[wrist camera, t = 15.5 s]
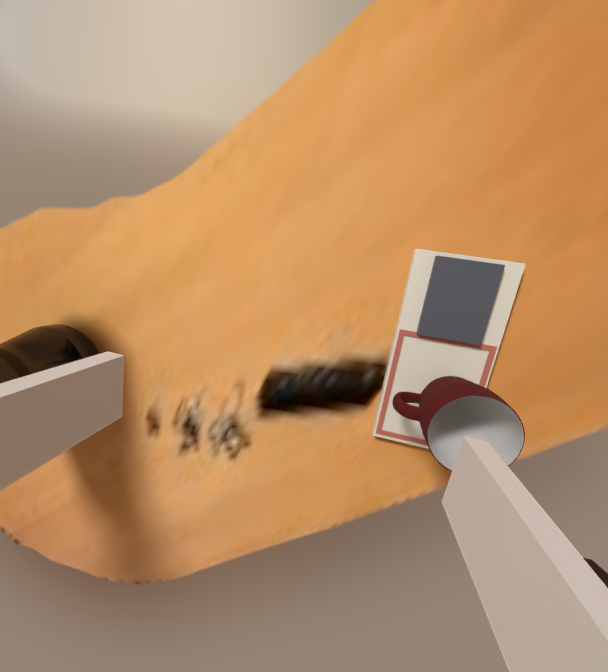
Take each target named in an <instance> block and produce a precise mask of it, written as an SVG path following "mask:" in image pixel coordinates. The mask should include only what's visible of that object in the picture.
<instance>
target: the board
mask: <svg viewBox="0 0 608 672" xmlns="http://www.w3.org/2000/svg"><path fill="white" fill-rule="evenodd" d="M524 268H525V264H524V263H517V262H509V261H502V260H495V259H487V258H480V257H473V256H466V255H458V254H451V253H444V252H437V251H429V250H422V249H414V251H413V256H412V260H411V264H410V269H409V273H408V278H407V282H406V286H405V291H404V295H403V299H402V304H401V308H400V312H399V317H398V321H397V325H396V330H395V334H394V339H393V343H392V347H391V352H390V356H389V360H388V365H387V369H386V373H385V378H384V382H383V386H382V391H381V395H380V399H379V404H378V408H377V413H376V417H375V421H374V426H373V430H372V434H373V436H377V437H381V438H385V439H389V440H394V441H398V442H402V443H406V444H410V445H414V446H419V447H423V448H427V449H429V447H428V445H427V443H426V441H425V438H424V436H423V433H422V429H421V426H420V423H419V422H418V421H414V420H411V419H408V418H405V417H403V416H402V415H400V414H399V413H397V412H396V410H395V409H394V408H393V404H392V401H393V397H394V396H395V394H397V393H398V392H413V393H419V394H421V392H422V391H423V390H424V388H425V387H426V386H427V385H428V384H429V383H430V382H432V381H433V380H435V379H437V378H440V377H444V376H457V377H461V378H464V379H467V380H469V381H471V382H473V383H476V384H478V385H480V386H483V387H485V388H487V384H488V381H489V378H490V375H491V372H492V369H493V365H494V362H495V359H496V356H497V353H498V350H499V347H500V343H501V340H502V337H503V334H504V331H505V328H506V324H507V321H508V318H509V315H510V312H511V309H512V305H513V302H514V299H515V296H516V293H517V290H518V287H519V283H520V280H521V277H522V274H523V271H524ZM407 404H410V405H412V406H416V407H419V404H418V403H407Z"/></svg>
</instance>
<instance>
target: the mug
mask: <svg viewBox="0 0 608 672" xmlns="http://www.w3.org/2000/svg"><path fill="white" fill-rule="evenodd" d="M407 403H418V404H419V407H416V406H412V405H410V404H407ZM392 404H393V408H394V409H395V410H396V412H397V413H399V414H400V415H402V416H403V417H405V418H408V419H411V420H414V421H418V422H419V423H420V426H421V429H422V433H423V436H424V438H425V441H426V443H427V445H428V447H429V450H430V452H431V453H432V455H433V456H434V458H435V459H436V460H437V461H438V462H439V463H440V464H441V465H442V466H444V467H445V468H447V469H448V470H450V471H452V470H453V467H454V464H455V461H456V458H457V455H458V452H459V449H460V446H461V443H462V440H463V437H464V436H467V437H471V438H476V439H480V440H484V441H487V442H488V443H489V444H490V445H491V446H492V448H493V449H494V450H495V451H496V453H497V454H498V455H499V456H500V457H501V459H502V460H503V461H504V462H505V464H506V465H507V466H510V465H511V464H512V463H513V462H514V461H515V460H516V459H517V457H518V456H519V454H520V452H521V450H522V448H523V445H524V439H525V433H524V427H523V424H522V422H521V420H520V418H519V416H518V415H517V413H516V412H515V411H514V410H513V409H512V408H511V407H510V406H509V405H508V404H507V403H506V402H505V401H504V400H503V399H501V398H500V397H499V396H498V395H496V394H495V393H494V392H492V391H490V390H489V389H487V388H485V387H483V386H480V385H478V384H476V383H473V382H471V381H469V380H467V379H464V378H461V377H457V376H444V377H440V378H437V379H435V380H433V381H432V382H430V383H429V384H428V385H427V386H426V387H425V388H424V390H423V391H422V392H421V394H419V393H413V392H398V393H397V394H395V396H394V397H393V401H392Z"/></svg>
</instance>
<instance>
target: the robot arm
mask: <svg viewBox="0 0 608 672" xmlns="http://www.w3.org/2000/svg"><path fill="white" fill-rule="evenodd" d="M124 356H125V355H121V354H117V353H112V352H108V351H107V352H104V353H101V354H99V353H98V351H97V350H96V348H95V347H94V345H93V344H92V343H91V342H90V341H89V340H88V338H86V337H85V336H84V335H83V334H82V333H80V332H79V331H77V330H75V329H74V328H71V327H69V326H65V325H58V324H55V325H48V326H41V327H37V328H33V329H31V330H28V331H26V332H24V333H22V334H20V335H18V336H16V337H14V338H12V339H10V340H8V341H6V342H4V343H2V344H0V490H2V489H3V488H5V487H7V486H8V485H10V484H12V483H13V482H15V481H17V480H18V479H20V478H22V477H23V476H25V475H27V474H28V473H30V472H32V471H33V470H35V469H37V468H38V467H40V466H42V465H43V464H45V463H47V462H48V461H50V460H52V459H53V458H55V457H57V456H58V455H60V454H62V453H63V452H65V451H66V450H68V449H70V448H71V447H73V446H75V445H76V444H78V443H80V442H81V441H83V440H85V439H86V438H88V437H90V436H91V435H93V434H95V433H96V432H98V431H100V430H101V429H103V428H105V427H106V426H108V425H110V424H111V423H113V422H115V421H116V420H118V419H120V418H121V417H122V413H123V385H124ZM442 504H443V507H444V509H445V511H446V514H447V517H448V519H449V522H450V524H451V527H452V529H453V532H454V534H455V537H456V540H457V541H458V544H459V547H460V550H461V552H462V555H463V557H464V560H465V562H466V565H467V567H468V570H469V572H470V575H471V577H472V580H473V582H474V585H475V588H476V590H477V592H478V595H479V598H480V600H481V602H482V605H483V607H484V610H485V613H486V615H487V618H488V620H489V623H490V626H491V628H492V631H493V633H494V636H495V638H496V641H497V643H498V646H499V648H500V651H501V653H502V656H503V658H504V661H505V663H506V666H507V668H508V671H509V672H608V574H607V573H606V572H605V571H604V570H603V569H602V568H601V567H599V566H598V565H597V564H596V563H595V562H594V561H592V560H590V559H586V558H583V557H582V556H581V555H580V554H579V552H578V551H577V550H576V549H575V548H574V546H573V545H572V544H571V543H570V542H569V541H568V539H567V538H566V537H565V535H564V534H563V533H562V532H561V531H560V529H559V528H558V527H557V526H556V524H555V523H554V522H553V521H552V520H551V518H550V517H549V516H548V515H547V514H546V512H545V511H544V510H543V509H542V507H541V506H540V505H539V504H538V503H537V501H536V500H535V499H534V498H533V496H532V495H531V494H530V493H529V492H528V490H527V489H526V488H525V487H524V486H523V484H522V483H521V482H520V481H519V479H518V478H517V477H516V476H515V474H514V473H513V472H512V471H511V470H510V468H509V467H508V466H507V465H506V464H505V462H504V461H503V460H502V459H501V457H500V456H499V455H498V454H497V453H496V451H495V450H494V449H493V448H492V446H491V445H490V444H489V443H488V442H487V441H484V440H480V439H476V438H471V437H467V436H464V437H463V440H462V443H461V446H460V449H459V452H458V455H457V458H456V461H455V464H454V467H453V470H452V473H451V476H450V479H449V482H448V485H447V488H446V491H445V494H444V497H443V500H442Z"/></svg>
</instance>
